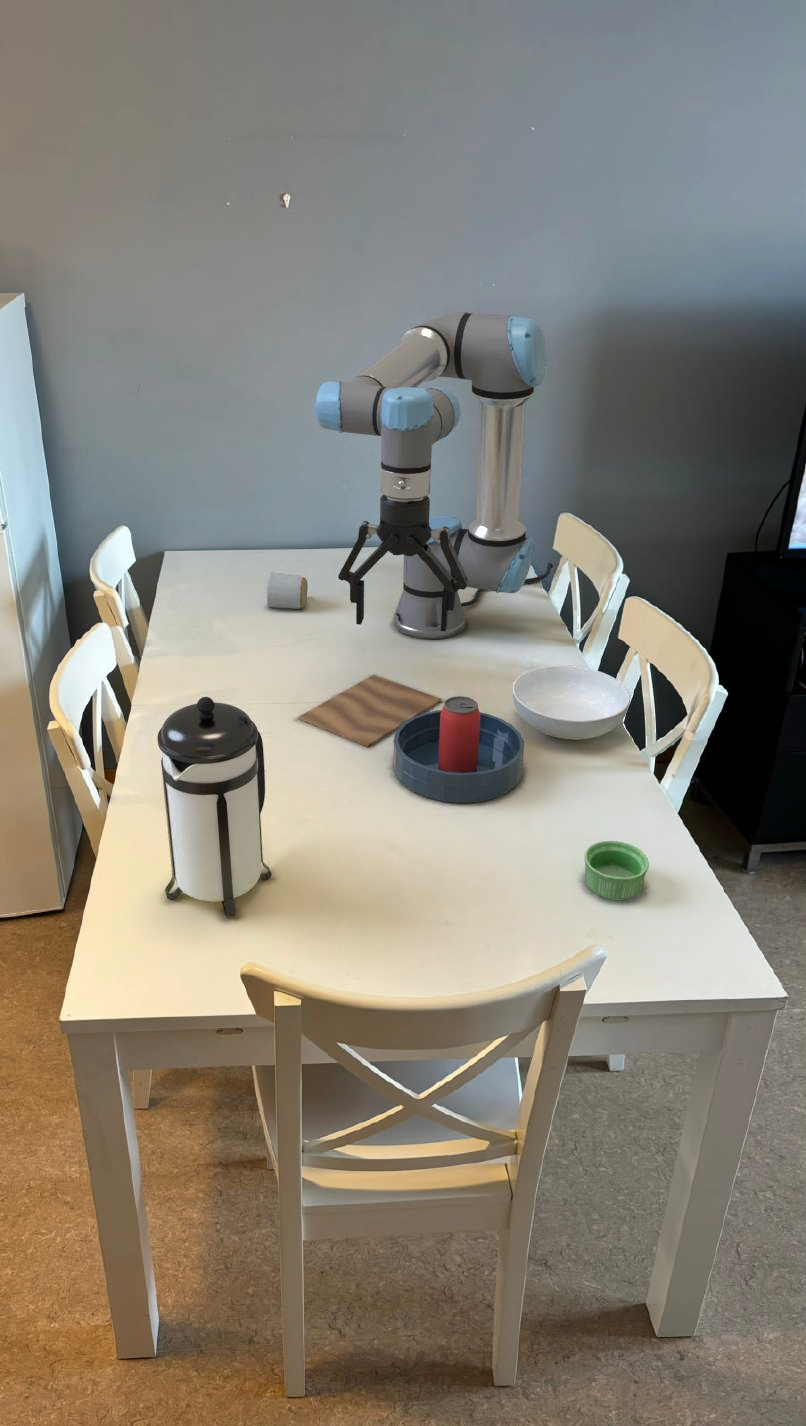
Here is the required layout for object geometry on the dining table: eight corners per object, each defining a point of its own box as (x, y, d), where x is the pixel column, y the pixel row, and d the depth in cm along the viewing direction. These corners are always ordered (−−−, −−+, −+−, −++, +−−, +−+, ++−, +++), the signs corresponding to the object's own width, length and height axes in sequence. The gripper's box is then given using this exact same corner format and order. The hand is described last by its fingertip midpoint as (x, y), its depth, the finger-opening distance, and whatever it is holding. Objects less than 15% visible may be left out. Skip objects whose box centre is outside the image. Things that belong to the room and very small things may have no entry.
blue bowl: (441, 724, 193) (443, 697, 191) (545, 763, 182) (548, 735, 180) (367, 773, 178) (367, 745, 175) (475, 819, 167) (477, 789, 164)
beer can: (474, 779, 177) (478, 715, 171) (434, 774, 178) (437, 711, 172) (479, 759, 182) (483, 697, 176) (441, 754, 183) (444, 692, 178)
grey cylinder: (304, 614, 235) (303, 581, 232) (266, 612, 236) (265, 579, 232) (310, 596, 245) (310, 564, 241) (274, 594, 245) (273, 562, 241)
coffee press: (289, 909, 147) (282, 717, 133) (171, 929, 143) (150, 733, 128) (266, 838, 162) (258, 657, 147) (158, 854, 157) (139, 670, 143)
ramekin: (603, 910, 148) (607, 884, 146) (569, 873, 155) (572, 848, 153) (657, 894, 152) (661, 869, 149) (621, 859, 159) (625, 834, 157)
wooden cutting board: (373, 676, 209) (373, 674, 209) (441, 701, 201) (441, 698, 201) (298, 719, 194) (298, 716, 194) (367, 747, 186) (367, 745, 185)
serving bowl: (496, 740, 189) (498, 706, 185) (525, 689, 206) (528, 657, 203) (614, 764, 182) (619, 728, 179) (634, 709, 200) (639, 676, 196)
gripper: (319, 497, 161) (320, 627, 171) (485, 508, 158) (477, 640, 168) (329, 483, 167) (330, 609, 177) (489, 493, 164) (481, 621, 174)
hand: (401, 624), depth 173 cm, fingers open, 13 cm apart
